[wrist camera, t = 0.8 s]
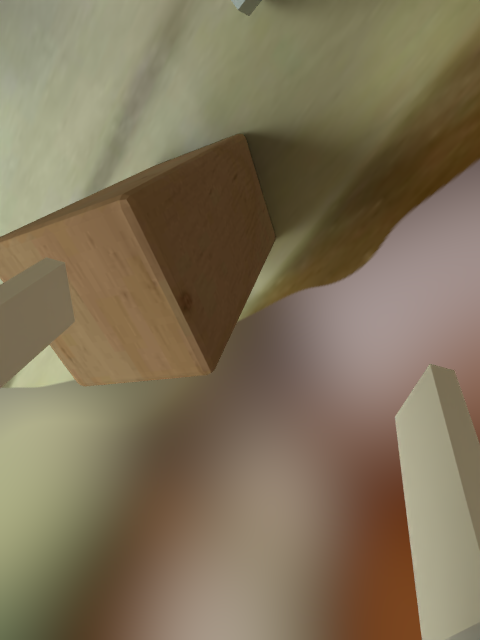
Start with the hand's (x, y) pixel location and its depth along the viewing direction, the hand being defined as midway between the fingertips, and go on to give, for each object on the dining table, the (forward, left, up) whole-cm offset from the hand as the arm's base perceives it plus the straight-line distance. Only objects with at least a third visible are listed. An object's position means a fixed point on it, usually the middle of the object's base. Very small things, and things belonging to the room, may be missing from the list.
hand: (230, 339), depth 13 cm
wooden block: (-4, -8, -24) cm, 25 cm away
